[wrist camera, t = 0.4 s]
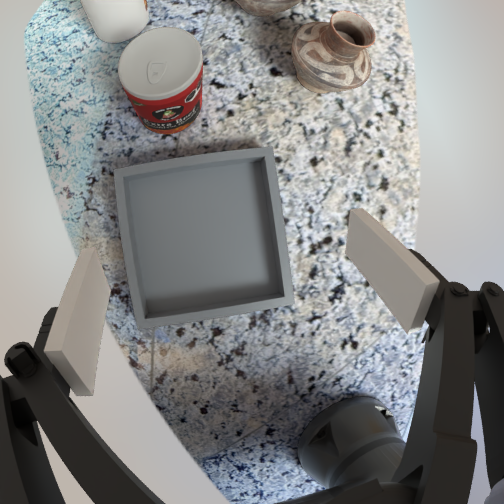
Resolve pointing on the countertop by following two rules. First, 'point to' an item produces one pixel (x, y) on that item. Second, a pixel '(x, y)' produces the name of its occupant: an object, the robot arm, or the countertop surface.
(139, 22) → the milk bottle
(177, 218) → the tray
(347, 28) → the pottery
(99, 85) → the countertop surface
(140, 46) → the canned food
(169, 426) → the countertop surface
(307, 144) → the countertop surface
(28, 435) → the robot arm
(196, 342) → the countertop surface
